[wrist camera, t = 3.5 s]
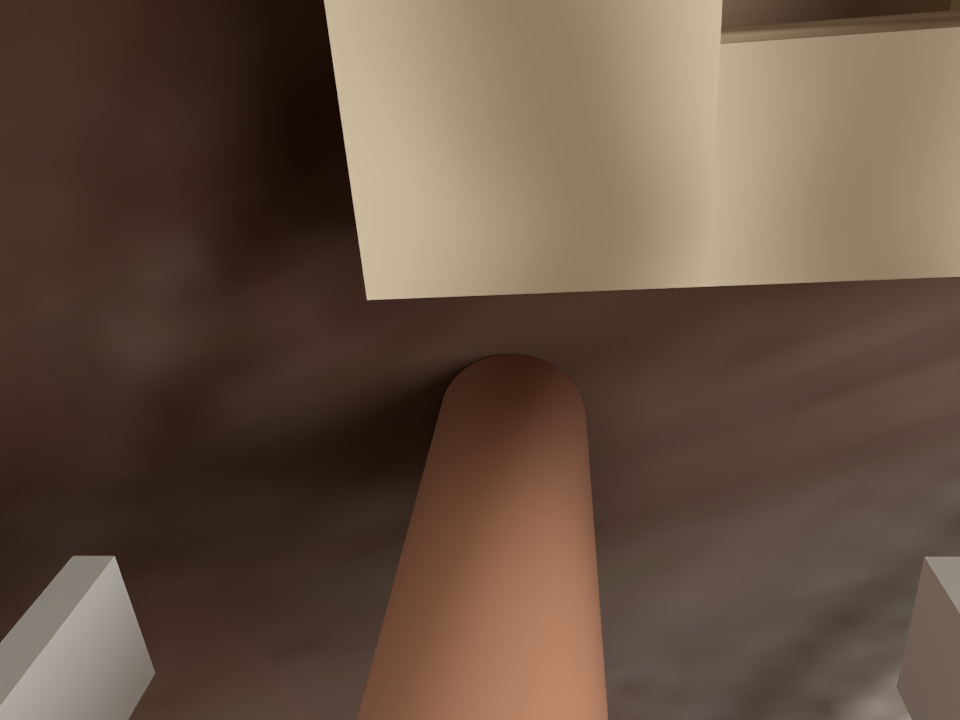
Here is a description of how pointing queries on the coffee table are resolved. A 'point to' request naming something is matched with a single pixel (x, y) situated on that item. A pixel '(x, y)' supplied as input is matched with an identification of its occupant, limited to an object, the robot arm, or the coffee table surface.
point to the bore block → (648, 142)
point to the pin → (497, 561)
